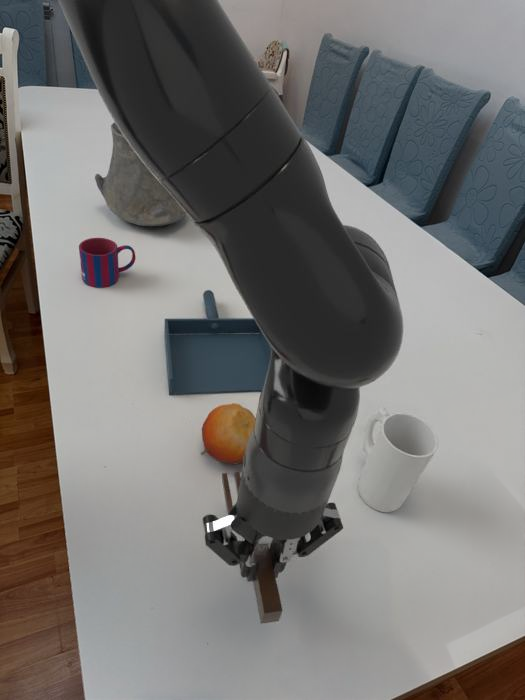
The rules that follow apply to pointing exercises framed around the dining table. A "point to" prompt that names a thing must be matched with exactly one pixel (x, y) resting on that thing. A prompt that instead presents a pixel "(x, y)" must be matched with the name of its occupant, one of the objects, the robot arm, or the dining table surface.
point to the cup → (101, 261)
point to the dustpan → (215, 353)
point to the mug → (394, 458)
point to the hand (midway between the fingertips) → (260, 570)
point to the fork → (260, 571)
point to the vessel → (135, 188)
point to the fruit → (227, 432)
